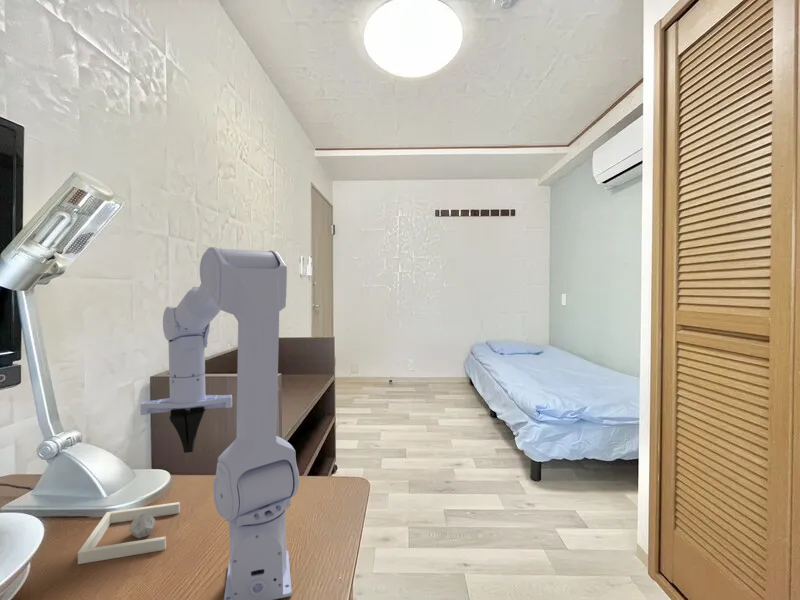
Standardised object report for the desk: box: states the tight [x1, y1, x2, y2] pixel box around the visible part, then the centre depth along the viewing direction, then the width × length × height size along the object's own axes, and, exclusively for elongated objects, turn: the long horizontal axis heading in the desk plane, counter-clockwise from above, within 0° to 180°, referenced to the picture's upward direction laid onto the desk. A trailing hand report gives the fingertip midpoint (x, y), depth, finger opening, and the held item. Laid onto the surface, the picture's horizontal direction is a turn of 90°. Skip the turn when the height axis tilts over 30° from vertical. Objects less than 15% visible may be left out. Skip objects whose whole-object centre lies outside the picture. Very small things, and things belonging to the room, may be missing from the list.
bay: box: [77, 501, 181, 565], centre depth 68 cm, size 12×11×2 cm
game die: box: [128, 512, 156, 539], centre depth 69 cm, size 4×4×3 cm
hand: (189, 450), depth 77 cm, fingers closed
